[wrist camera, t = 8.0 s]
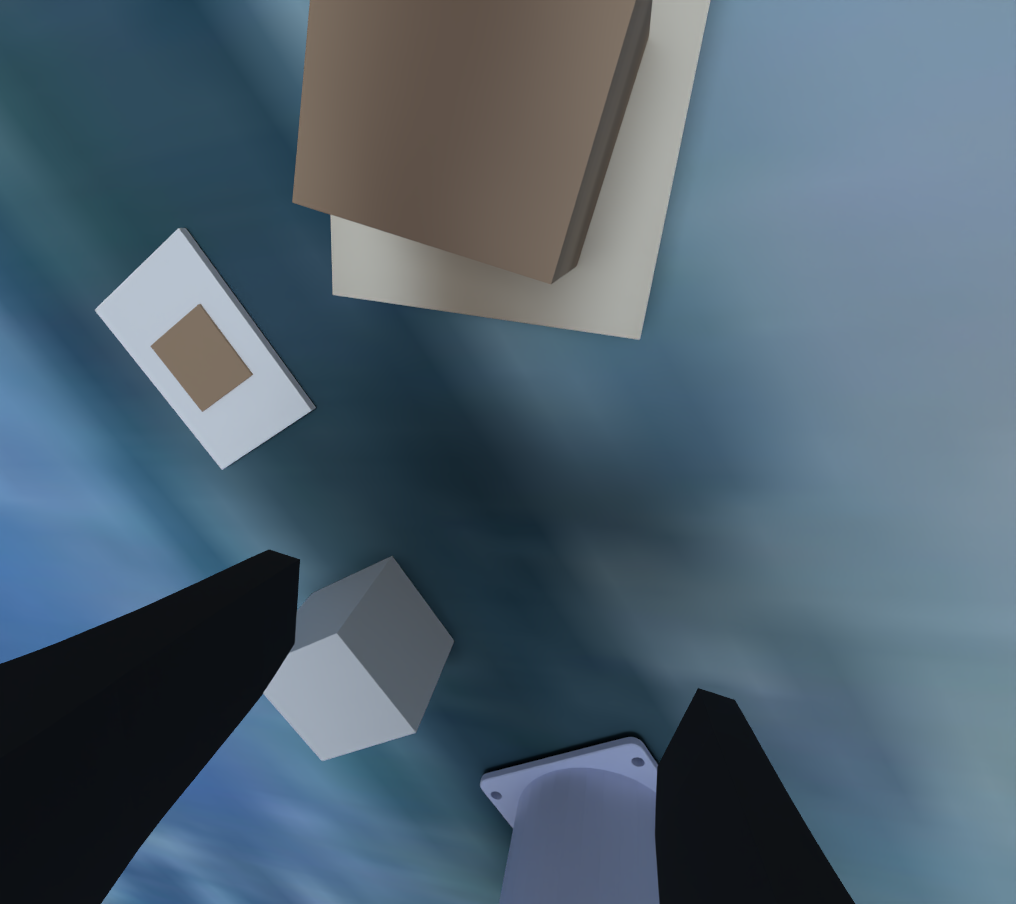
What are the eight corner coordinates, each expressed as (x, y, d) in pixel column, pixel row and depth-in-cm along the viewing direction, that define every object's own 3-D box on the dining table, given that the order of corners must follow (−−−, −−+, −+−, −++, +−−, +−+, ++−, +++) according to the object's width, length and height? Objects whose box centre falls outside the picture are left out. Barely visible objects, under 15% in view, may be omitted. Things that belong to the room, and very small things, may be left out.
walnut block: (648, 36, 11) (660, -84, 7) (577, 266, 13) (550, 284, 8) (437, -22, 11) (324, -169, 7) (399, 210, 13) (292, 202, 9)
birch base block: (706, -20, 13) (731, -101, 10) (637, 317, 16) (640, 339, 13) (391, -35, 14) (321, -112, 11) (387, 282, 17) (332, 294, 14)
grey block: (454, 639, 22) (415, 732, 18) (374, 669, 24) (322, 760, 20) (393, 554, 21) (336, 633, 17) (313, 592, 23) (244, 671, 19)
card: (316, 407, 19) (309, 411, 19) (227, 466, 21) (220, 470, 20) (185, 228, 17) (176, 228, 17) (102, 308, 19) (92, 310, 19)
